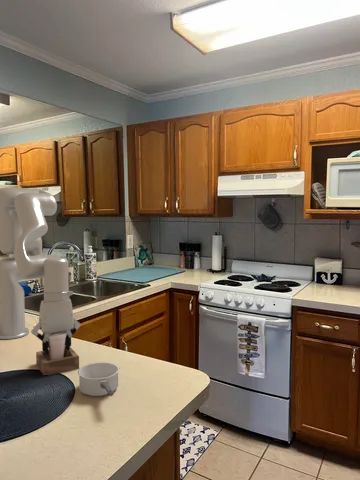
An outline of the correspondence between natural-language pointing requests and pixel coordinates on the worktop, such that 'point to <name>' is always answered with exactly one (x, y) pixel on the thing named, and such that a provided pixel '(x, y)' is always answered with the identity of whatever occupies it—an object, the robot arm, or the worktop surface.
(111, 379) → the saucepan
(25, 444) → the worktop surface
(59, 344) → the smoothie
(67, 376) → the worktop surface
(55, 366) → the wooden frame
